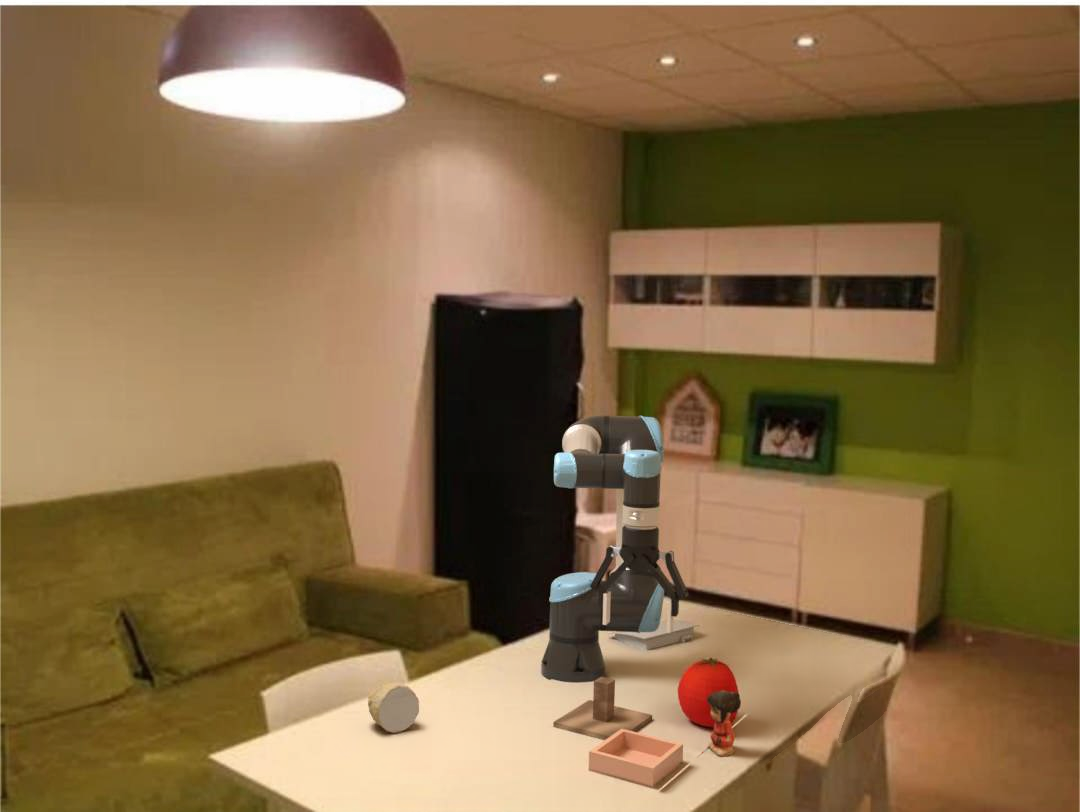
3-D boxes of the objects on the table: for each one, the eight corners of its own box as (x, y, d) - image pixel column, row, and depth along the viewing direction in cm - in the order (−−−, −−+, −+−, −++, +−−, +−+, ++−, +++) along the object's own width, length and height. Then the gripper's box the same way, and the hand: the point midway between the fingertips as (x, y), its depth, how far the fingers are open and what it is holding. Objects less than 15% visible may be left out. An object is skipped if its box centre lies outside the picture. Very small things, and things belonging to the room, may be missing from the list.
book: (707, 640, 276) (707, 625, 275) (645, 656, 261) (646, 641, 261) (664, 626, 287) (665, 612, 287) (603, 641, 273) (604, 626, 272)
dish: (588, 772, 192) (589, 751, 191) (620, 748, 203) (621, 728, 202) (652, 790, 185) (653, 768, 185) (682, 764, 196) (683, 744, 196)
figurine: (716, 741, 207) (718, 682, 206) (741, 749, 204) (744, 689, 203) (700, 751, 202) (702, 691, 201) (725, 759, 199) (728, 698, 198)
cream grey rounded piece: (379, 709, 202) (364, 674, 210) (376, 746, 207) (362, 711, 215) (426, 698, 206) (410, 664, 214) (422, 735, 211) (406, 701, 219)
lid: (553, 726, 212) (554, 683, 211) (589, 704, 225) (590, 663, 224) (618, 743, 204) (620, 698, 203) (652, 719, 217) (653, 677, 216)
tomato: (746, 723, 217) (748, 657, 216) (726, 741, 207) (729, 672, 206) (689, 710, 223) (691, 646, 222) (668, 728, 214) (670, 660, 212)
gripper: (577, 523, 215) (574, 624, 216) (696, 534, 206) (693, 639, 207) (588, 517, 222) (586, 615, 223) (704, 528, 213) (701, 629, 214)
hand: (637, 627), depth 215 cm, fingers open, 13 cm apart
